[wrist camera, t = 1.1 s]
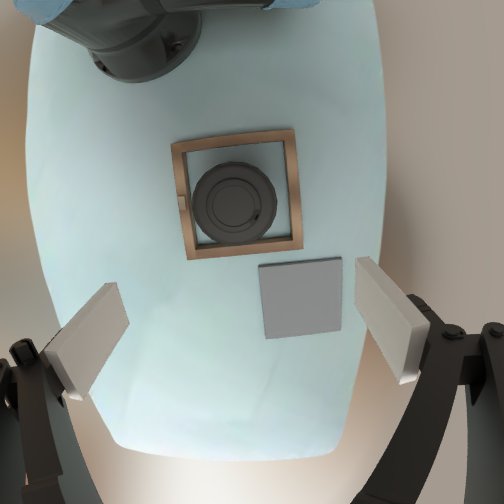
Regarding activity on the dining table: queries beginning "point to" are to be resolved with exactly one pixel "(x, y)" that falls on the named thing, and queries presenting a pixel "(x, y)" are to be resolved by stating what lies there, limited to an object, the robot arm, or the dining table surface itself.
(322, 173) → the dining table surface
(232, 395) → the dining table surface
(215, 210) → the coffee cup
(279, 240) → the wooden square frame
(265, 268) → the pad
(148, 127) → the dining table surface
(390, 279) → the robot arm
